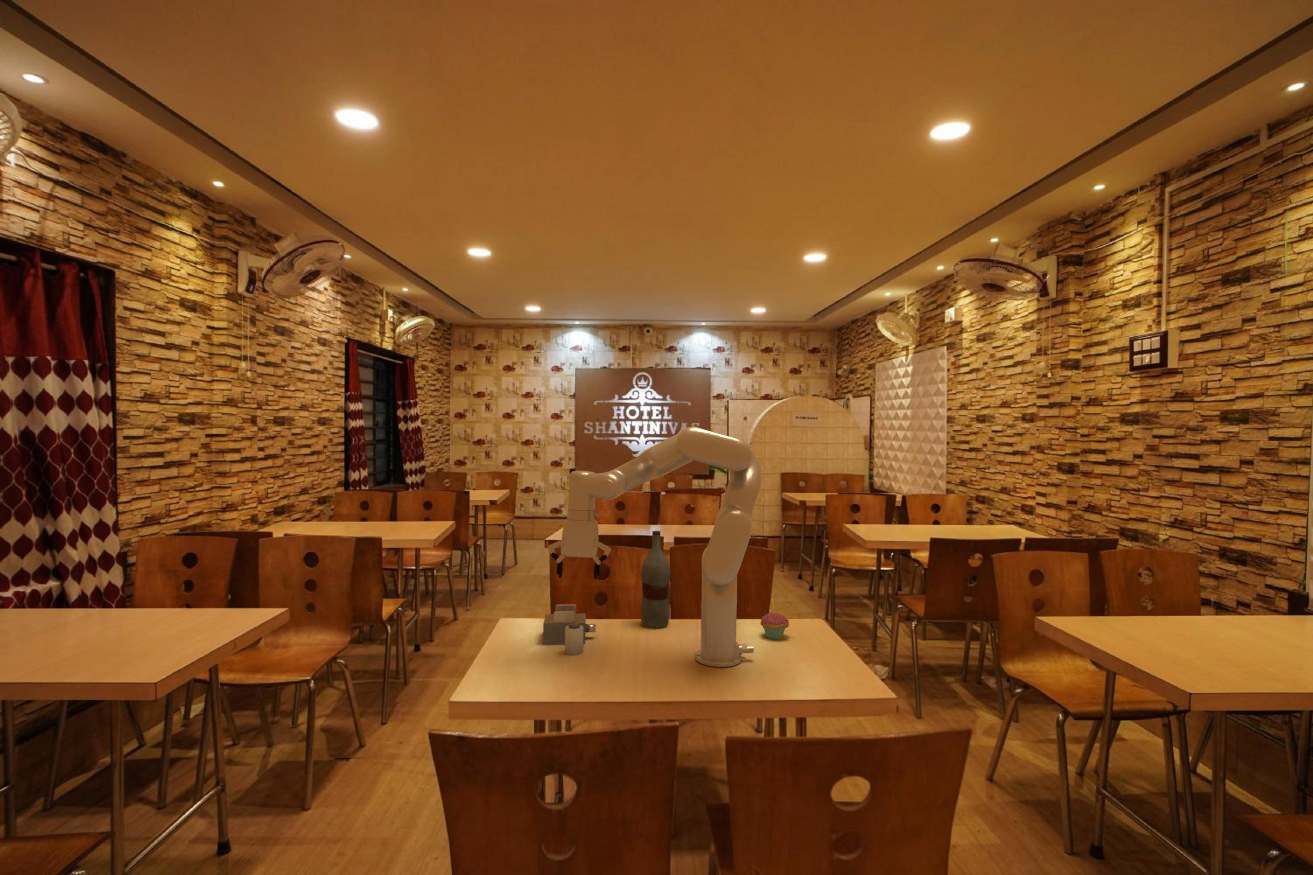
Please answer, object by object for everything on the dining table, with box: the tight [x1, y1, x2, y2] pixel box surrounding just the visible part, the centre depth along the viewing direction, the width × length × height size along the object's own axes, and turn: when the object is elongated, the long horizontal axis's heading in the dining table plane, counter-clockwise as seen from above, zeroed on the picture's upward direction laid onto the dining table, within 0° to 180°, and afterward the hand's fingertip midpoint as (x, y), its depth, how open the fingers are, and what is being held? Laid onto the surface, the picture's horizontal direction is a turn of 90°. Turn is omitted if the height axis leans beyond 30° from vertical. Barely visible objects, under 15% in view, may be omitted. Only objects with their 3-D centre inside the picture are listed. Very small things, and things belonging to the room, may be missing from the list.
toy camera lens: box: [564, 623, 584, 656], centre depth 174 cm, size 5×5×8 cm
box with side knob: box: [542, 603, 597, 646], centre depth 187 cm, size 15×12×9 cm
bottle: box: [640, 530, 671, 630], centre depth 201 cm, size 9×9×30 cm
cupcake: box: [760, 597, 790, 640], centre depth 190 cm, size 9×8×12 cm
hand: (578, 577), depth 174 cm, fingers open, 9 cm apart
